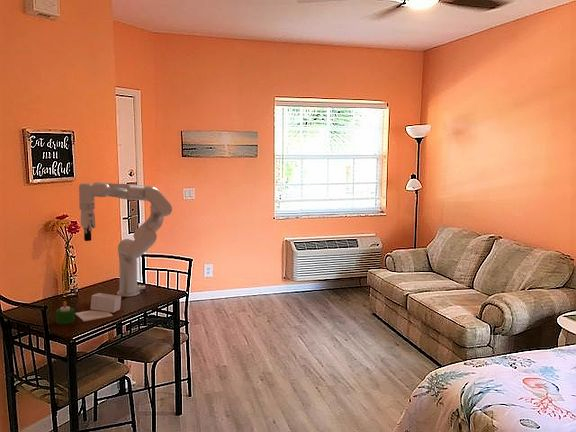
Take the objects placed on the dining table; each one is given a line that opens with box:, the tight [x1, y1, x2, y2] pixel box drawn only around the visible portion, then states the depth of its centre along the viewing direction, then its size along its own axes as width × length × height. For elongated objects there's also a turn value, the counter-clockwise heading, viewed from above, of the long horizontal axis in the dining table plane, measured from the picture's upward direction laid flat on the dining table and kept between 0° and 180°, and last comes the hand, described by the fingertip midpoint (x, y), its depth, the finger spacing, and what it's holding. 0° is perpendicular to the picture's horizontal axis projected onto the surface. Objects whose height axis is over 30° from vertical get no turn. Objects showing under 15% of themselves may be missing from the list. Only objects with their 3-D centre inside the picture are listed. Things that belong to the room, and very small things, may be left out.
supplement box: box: [90, 292, 122, 314], centre depth 255 cm, size 7×7×13 cm
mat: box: [75, 309, 114, 322], centre depth 248 cm, size 14×13×1 cm
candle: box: [55, 300, 76, 325], centre depth 238 cm, size 8×8×10 cm
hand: (87, 240), depth 267 cm, fingers closed
